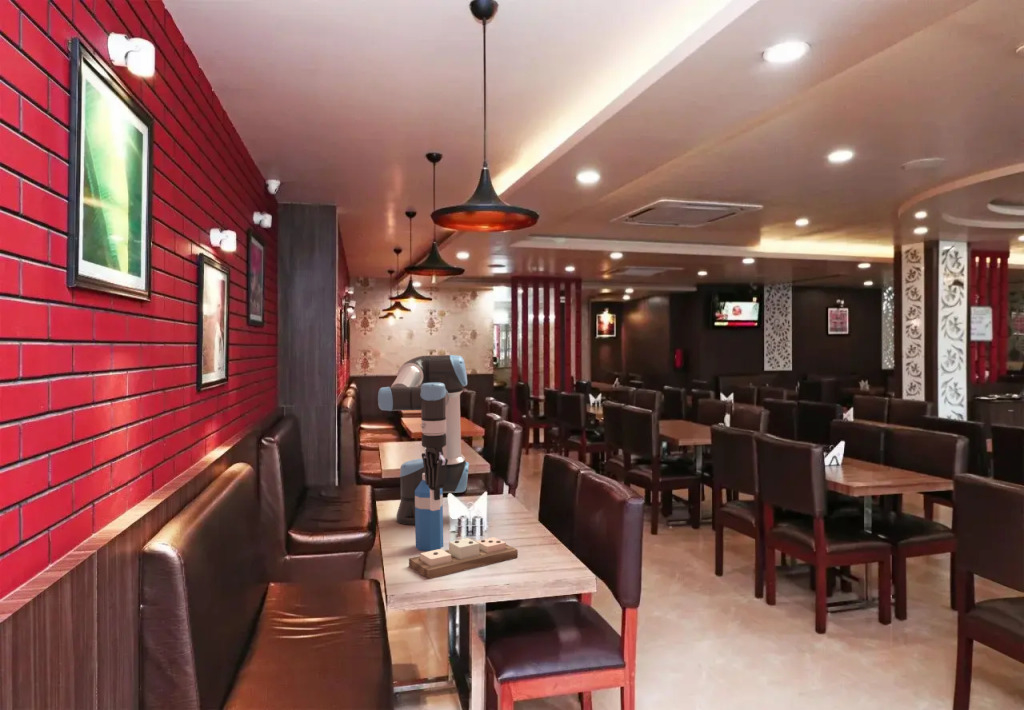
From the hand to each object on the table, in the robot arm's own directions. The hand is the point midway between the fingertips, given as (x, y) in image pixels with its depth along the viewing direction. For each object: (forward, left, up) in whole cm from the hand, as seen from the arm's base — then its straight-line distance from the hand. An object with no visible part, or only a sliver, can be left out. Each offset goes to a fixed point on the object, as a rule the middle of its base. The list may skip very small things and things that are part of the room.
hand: (435, 509), depth 201 cm
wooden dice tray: (0, +10, -18) cm, 20 cm away
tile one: (0, 0, -18) cm, 18 cm away
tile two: (0, +10, -16) cm, 19 cm away
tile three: (0, +20, -18) cm, 26 cm away
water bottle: (-20, +8, -18) cm, 28 cm away
